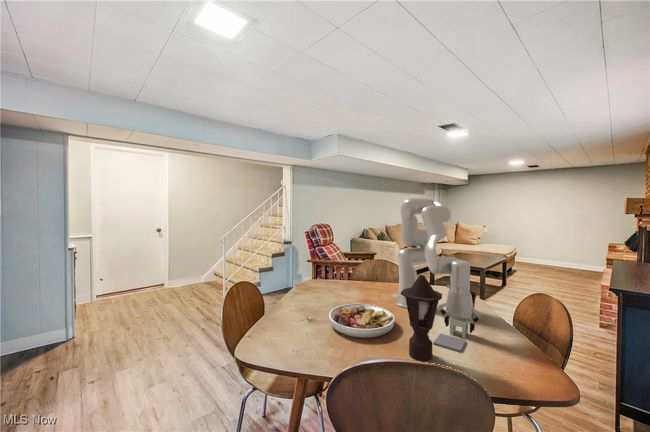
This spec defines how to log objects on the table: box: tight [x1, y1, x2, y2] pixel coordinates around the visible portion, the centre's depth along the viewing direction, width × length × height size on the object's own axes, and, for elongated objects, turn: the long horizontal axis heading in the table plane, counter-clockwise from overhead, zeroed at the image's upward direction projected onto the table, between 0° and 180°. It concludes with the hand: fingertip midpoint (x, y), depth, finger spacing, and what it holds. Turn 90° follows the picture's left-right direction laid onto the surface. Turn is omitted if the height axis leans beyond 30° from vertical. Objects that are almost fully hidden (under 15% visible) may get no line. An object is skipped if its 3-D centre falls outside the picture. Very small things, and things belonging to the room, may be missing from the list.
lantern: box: [401, 274, 443, 363], centre depth 103 cm, size 15×15×30 cm
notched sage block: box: [449, 315, 469, 340], centre depth 121 cm, size 6×6×7 cm
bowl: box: [328, 303, 395, 339], centre depth 130 cm, size 30×30×8 cm
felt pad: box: [432, 333, 467, 353], centre depth 113 cm, size 10×10×1 cm
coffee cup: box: [468, 290, 477, 321], centre depth 138 cm, size 9×8×13 cm
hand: (459, 328), depth 121 cm, fingers open, 9 cm apart
